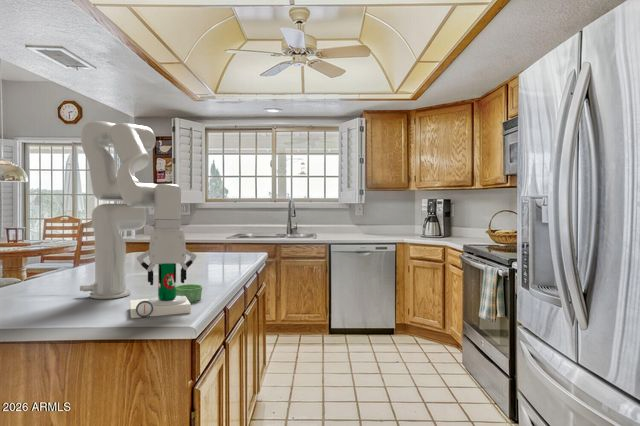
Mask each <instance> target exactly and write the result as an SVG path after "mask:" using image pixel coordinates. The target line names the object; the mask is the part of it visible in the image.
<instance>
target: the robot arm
mask: <svg viewBox="0 0 640 426" xmlns="http://www.w3.org/2000/svg"><path fill="white" fill-rule="evenodd" d="M156 138H157V137H156V134H155V132H154V131H153V130H152V129H151V128H150V127H148V126H145V125H138V124H133V123H127V122H119V123H114V122H109V121H102V120H92V121H91V120H90V121H87V122H86V123H84V125H83V126H82V128H81V132H80V142H81V147H82V150H83V153H84V155H85V157H86V161H87V163H88V167H89V168H88V169H89V174H90V182H91V189H92V192H93V196H94V197H95V199H96V200H99V201H104V202H107V201H108V202H124V203H102V204H98V205H97V206H95V207H94V208H93V210H92V212H91V220H92V221H91V222H92V223H91V224H92V227H93V235H94V282H93V283H91V284H89V285H87V284H83V285H79V291H80V292H84V293H85V292H90V293H89V297H90V298H91V299H97V300H98V299H99V300H108V299H117V298H118V299H119V298H124V297H127V296H129V295H131V290H130V288H129V289H128V288H127V285H126V284H127V283H126V282H127V277H126V276H127V274H126V273H127V270H126V269H127V260H126V259H127V257H126V256H127V244H126V241H125V239H124V238H123V236H122V235H121V233H120V232H126V231H127V232H128V231H138V230H141V229H142V228H144V227H145V224H146V223H147V212H146V209H153V212H154V213H153V220H152V221H148V226H149V227H152V228H153V229H151V232H150V236H149V247H148V250H146V251H144V252H143V253H141V254H139V255H138V256H137V257H136V260H137V262H138V263H139V264H140V265H141V267H142V268H143V269H145V270H146V271H147V283H149V285H150V286H153V285H154V271H153V269H154V267H155V266H156V265H158V264H174V263H176V264H179V265H180V266H181V269H180V283H181V284H184V283H185V280H187V270H188V268H190V266H191V265H192V264H193V263H194V261H195V260H196V258H197V255H196V254H195V253H193V252H191V251H190V250H189V249H187V248H186V246H187V245H186V235H185V232H184V231H185V230H184V229H182V227H181V226H182V219H181V218H182V188H181V186H180V185H179V184H175V183H174V184H173V183H150V182H148V183H145V182H140V181H139V179H138V178H136V177H135V176H133V174H135V173H137V172H141V171H142V170H143V169H145V168H146V167H148V165H150V162H151V160H150V159H151V158H150V157H151V156H150V155H149V153H148V152H150V151H152V150H153V149H154V148H155V147H156V142H157V141H156V140H157V139H156ZM106 147H107V148H114V150H115V151H116V153H117V156H118V158H119V161H120V163H121V165H120V166H119V168H118V169H117V163H116V160H115V158H114V157H113V156H112V154H111V153H110V152H109V151H108V150H107V149H106ZM187 256H189V257H190V258H189V259H188V261H187V262H186V258H187ZM147 257H148V259H149V262H150V263H149V264H148V263H146V262H145V261H144V259H145V258H147ZM185 262H186V263H185Z"/></svg>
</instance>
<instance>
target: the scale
mask: <svg viewBox="0 0 640 426" xmlns="http://www.w3.org/2000/svg"><path fill="white" fill-rule="evenodd" d="M191 305H192V304H191V302H189V301H188V299H187V298H186V296H176V298H175V299H174V300H170V301H161V300H159V299H158V296H155V297H151V298H140V299H130V300H129V309H130V310H129V311H130V319H138V318H147V317H149V316H150V317H157V316H158V317H159V316H170V315H178V314H180V315H181V314H189V313H190V314H191V312H192V311H191V310H192V309H191V308H192V307H191Z"/></svg>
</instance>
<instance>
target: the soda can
mask: <svg viewBox="0 0 640 426" xmlns="http://www.w3.org/2000/svg"><path fill="white" fill-rule="evenodd" d="M157 265H158V267H157V268H158V269H157V270H158V271H157V272H158V273H157V277H158V279H157V297H158V299H159V300H161V301H170V300H174V299H175V298H176V286H177V263H174V264H157Z"/></svg>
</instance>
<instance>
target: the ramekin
mask: <svg viewBox="0 0 640 426" xmlns="http://www.w3.org/2000/svg"><path fill="white" fill-rule="evenodd" d="M202 291H203V285H201V284H197V283H196V284H195V283H193V284H191V283H190V284H189V283H188V284H180V285H179V284H178V285H176V296H186V298H187V299H188V301H189V302H190V303H194V302H198V301H200V300H201V299H202V293H203V292H202Z"/></svg>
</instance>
